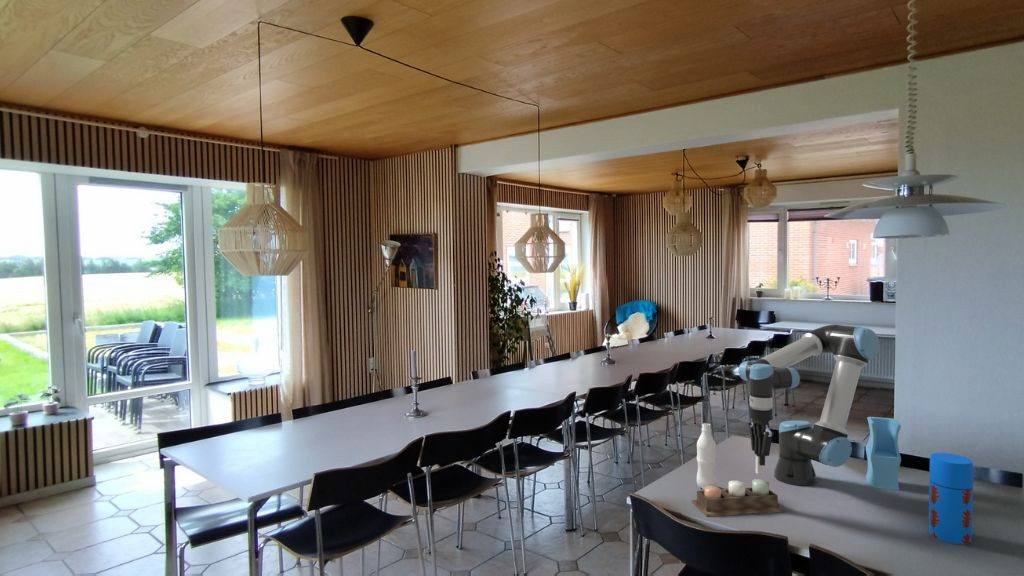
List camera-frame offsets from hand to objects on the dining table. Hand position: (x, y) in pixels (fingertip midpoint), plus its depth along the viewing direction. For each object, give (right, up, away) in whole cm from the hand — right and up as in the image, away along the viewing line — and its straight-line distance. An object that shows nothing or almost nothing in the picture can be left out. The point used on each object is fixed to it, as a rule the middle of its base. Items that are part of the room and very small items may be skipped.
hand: (760, 473), depth 206 cm
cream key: (-9, -9, 0) cm, 12 cm away
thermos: (+49, -12, -24) cm, 56 cm away
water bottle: (-13, -12, +17) cm, 25 cm away
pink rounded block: (-17, -10, -1) cm, 20 cm away
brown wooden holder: (-9, -12, 0) cm, 15 cm away
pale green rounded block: (0, -8, 0) cm, 8 cm away
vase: (+56, -11, +19) cm, 60 cm away
